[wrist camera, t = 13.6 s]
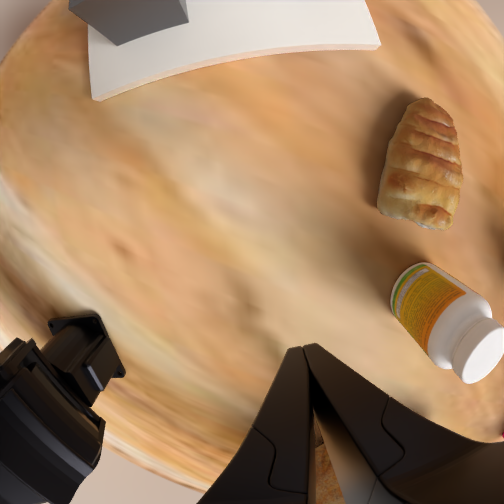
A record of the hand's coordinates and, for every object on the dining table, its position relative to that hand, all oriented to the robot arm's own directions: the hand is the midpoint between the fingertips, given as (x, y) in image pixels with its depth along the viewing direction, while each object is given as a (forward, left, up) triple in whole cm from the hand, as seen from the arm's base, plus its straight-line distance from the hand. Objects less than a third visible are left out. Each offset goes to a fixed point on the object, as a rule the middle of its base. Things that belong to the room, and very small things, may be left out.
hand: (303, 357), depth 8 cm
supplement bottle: (+11, -6, -12) cm, 17 cm away
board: (0, +19, -12) cm, 22 cm away
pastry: (+11, +4, -12) cm, 17 cm away
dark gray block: (-5, +19, -11) cm, 22 cm away
